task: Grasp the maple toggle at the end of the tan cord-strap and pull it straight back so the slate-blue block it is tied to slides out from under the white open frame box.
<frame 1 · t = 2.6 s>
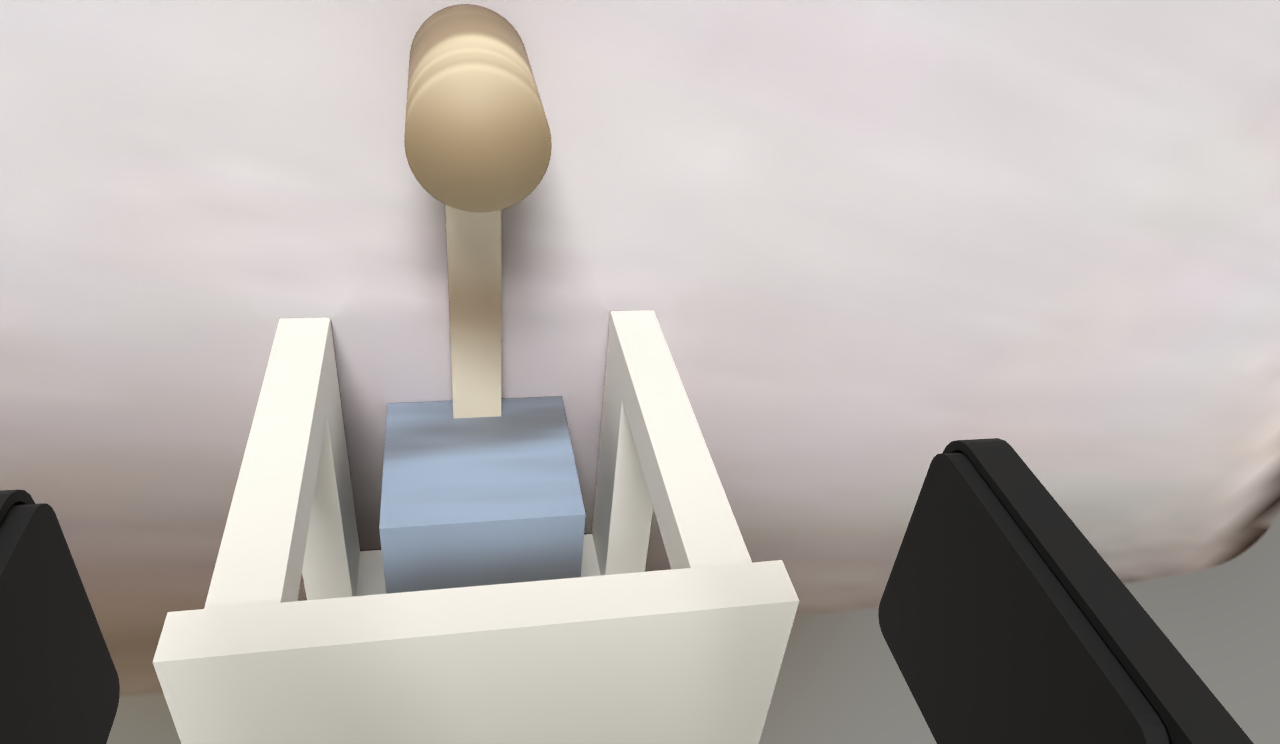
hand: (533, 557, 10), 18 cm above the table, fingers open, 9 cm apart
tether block: (477, 465, 33), on the table
white open frame box: (477, 454, 32), on the table
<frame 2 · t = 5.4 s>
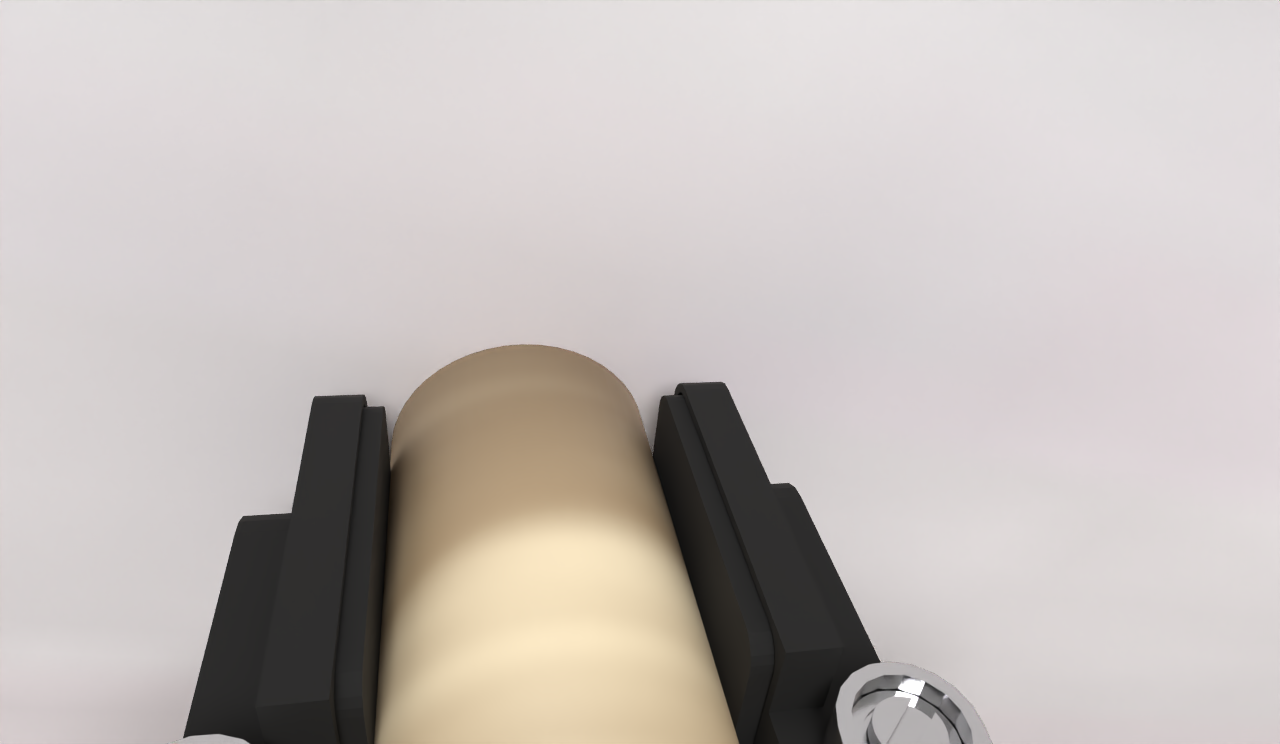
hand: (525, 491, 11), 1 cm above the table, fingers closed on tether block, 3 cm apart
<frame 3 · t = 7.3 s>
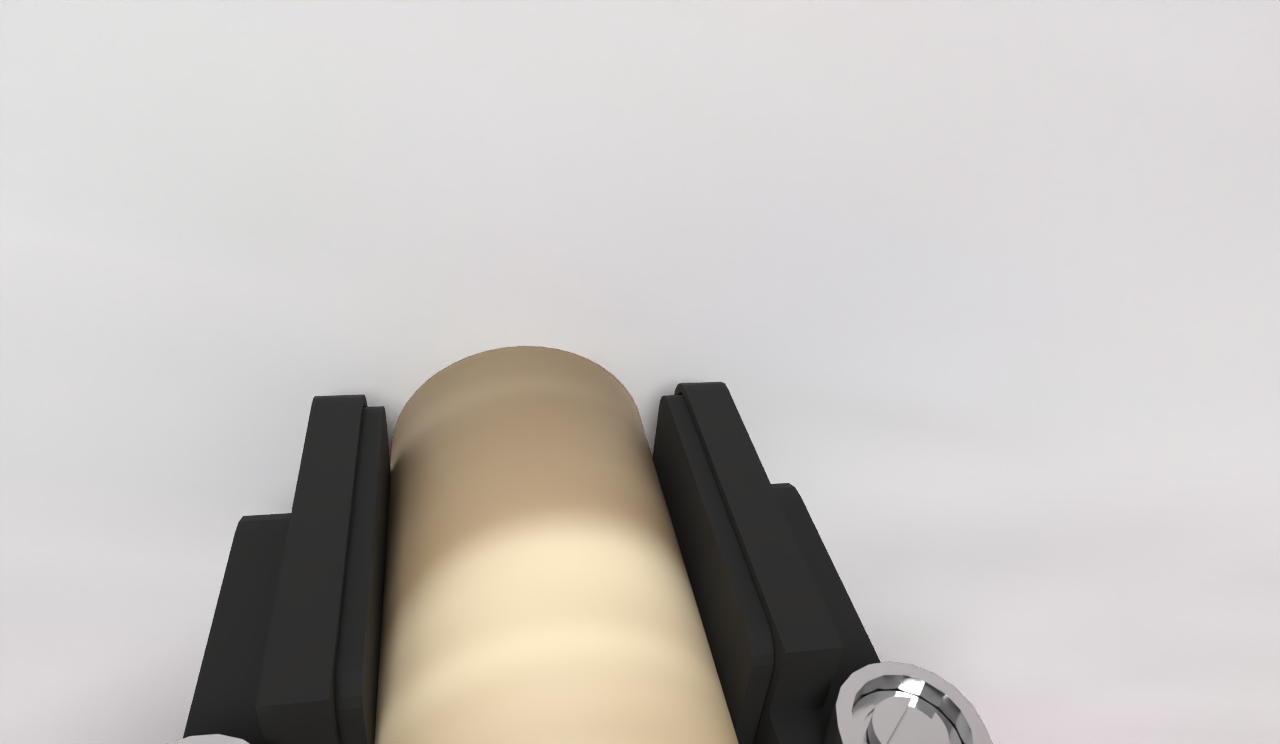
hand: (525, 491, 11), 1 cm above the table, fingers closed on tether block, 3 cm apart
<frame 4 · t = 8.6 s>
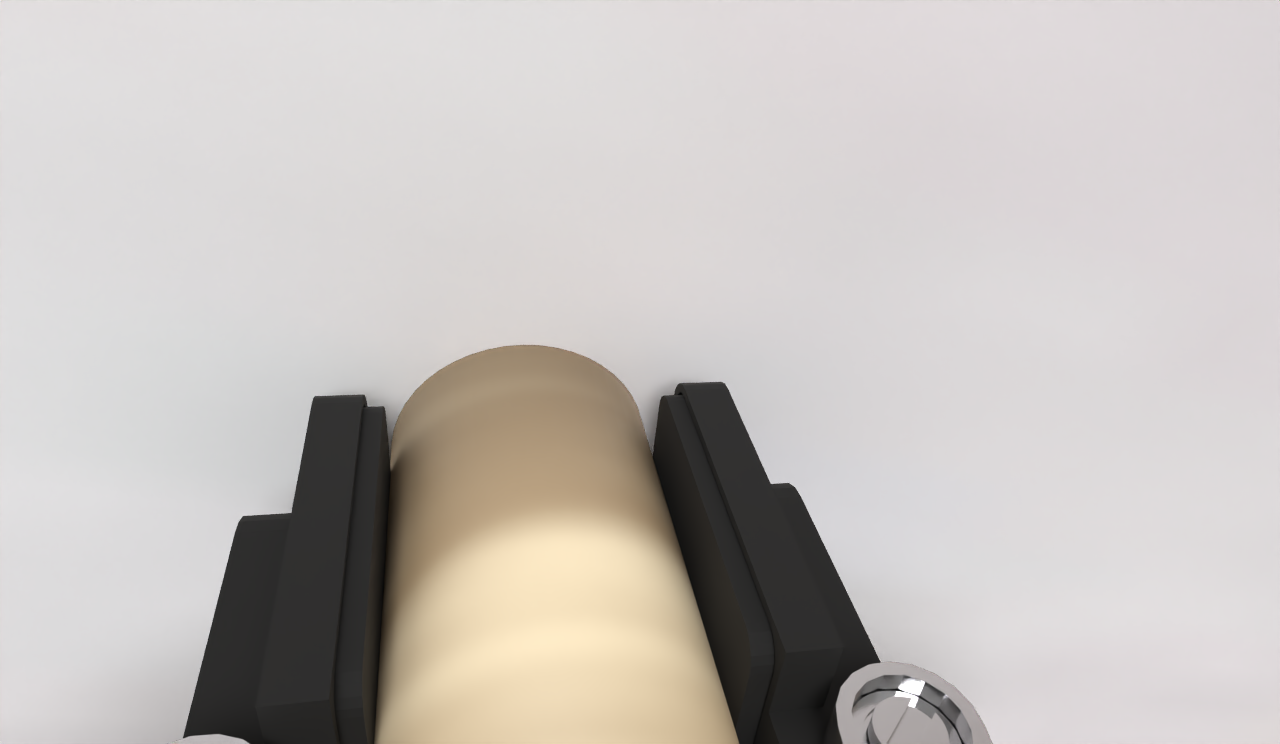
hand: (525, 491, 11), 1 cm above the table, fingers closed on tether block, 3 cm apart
when the fingers open (1 cm above the table, at t = 9.1 s): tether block stays where it is, on the table.
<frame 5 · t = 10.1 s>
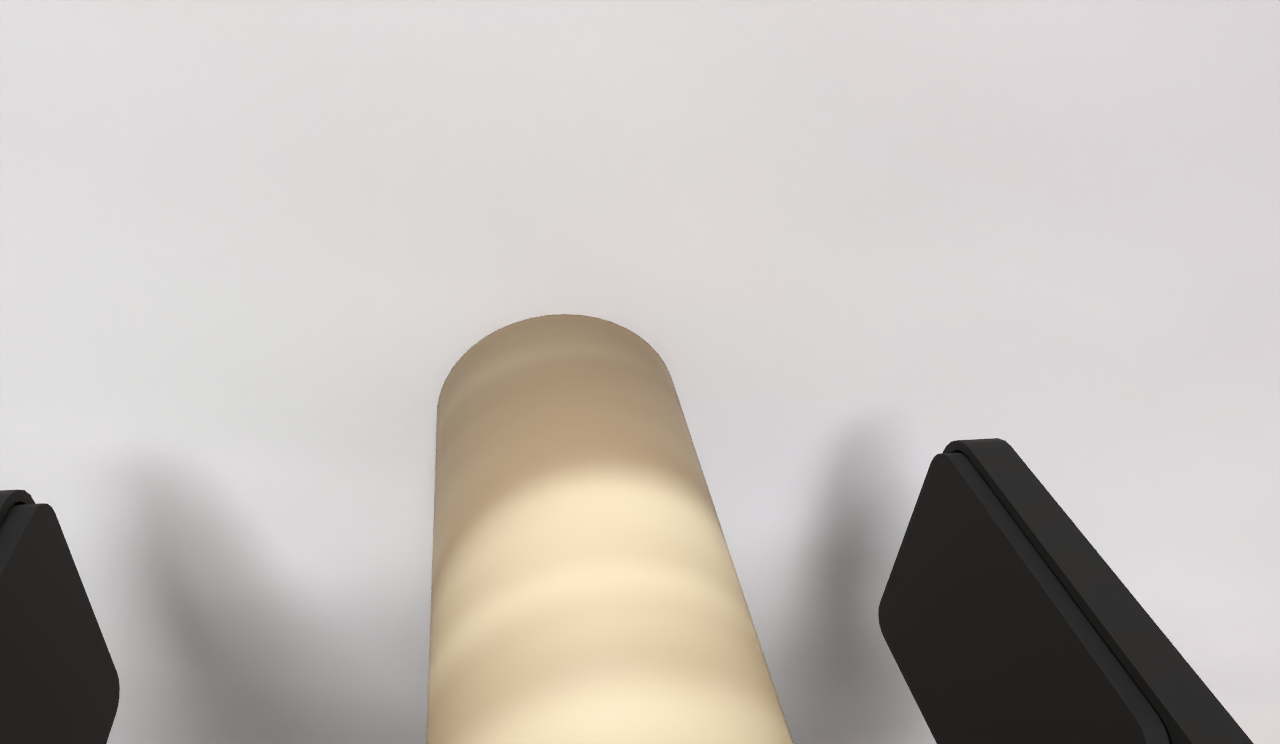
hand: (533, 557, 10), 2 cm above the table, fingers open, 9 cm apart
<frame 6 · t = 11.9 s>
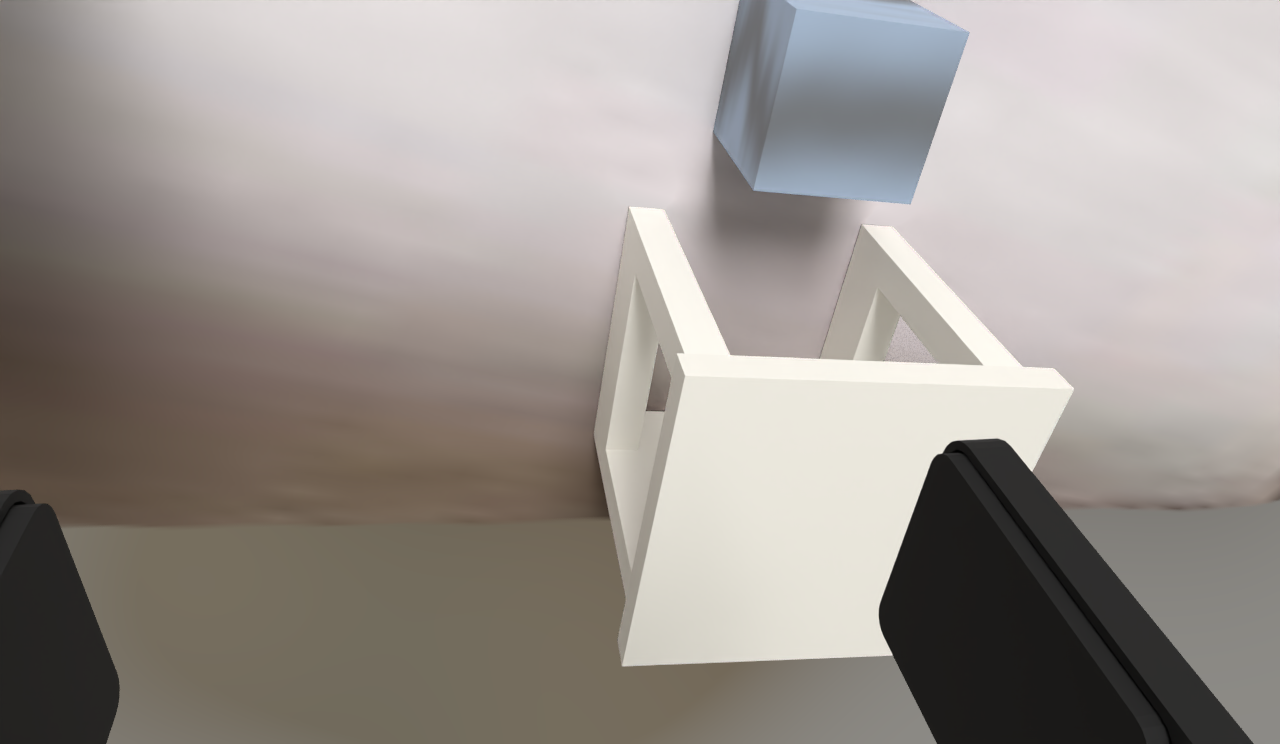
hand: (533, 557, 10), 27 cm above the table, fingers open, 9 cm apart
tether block: (801, 64, 34), on the table
white open frame box: (736, 335, 41), on the table
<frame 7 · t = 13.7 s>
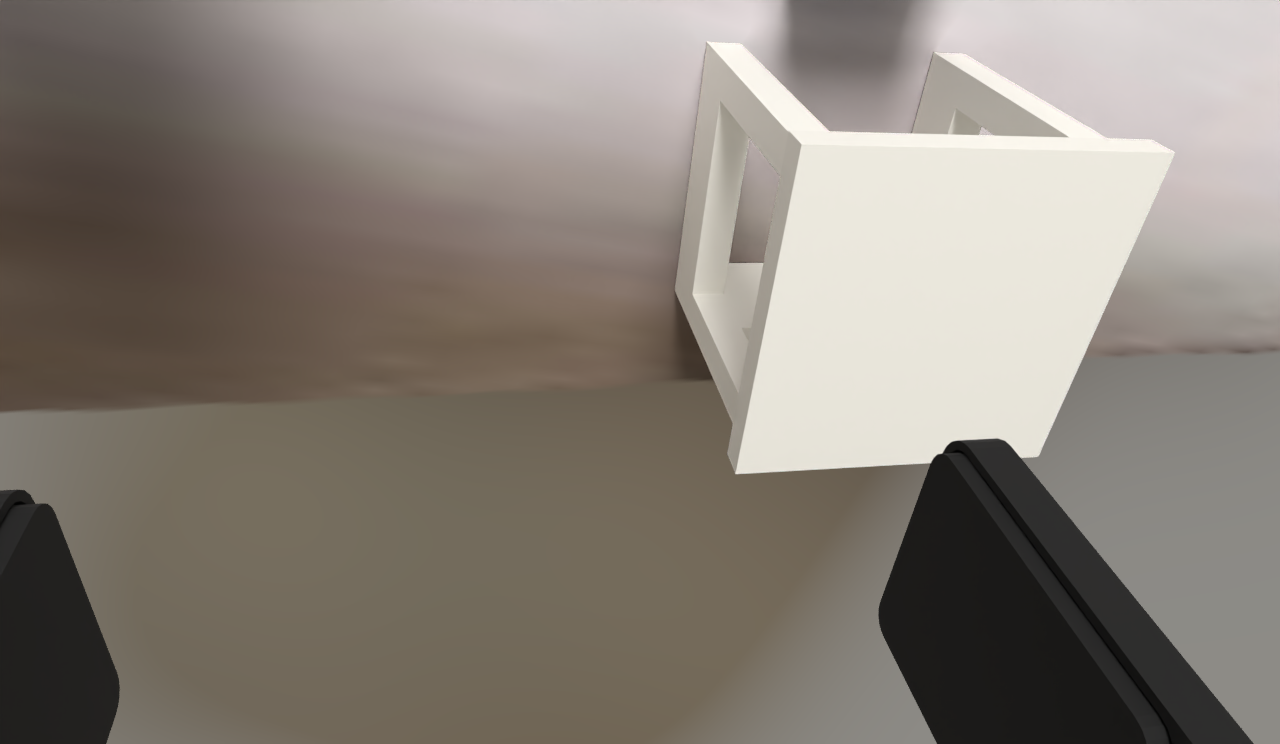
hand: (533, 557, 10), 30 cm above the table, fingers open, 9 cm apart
white open frame box: (811, 178, 42), on the table
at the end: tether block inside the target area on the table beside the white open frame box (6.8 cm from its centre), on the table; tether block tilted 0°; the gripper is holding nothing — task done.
